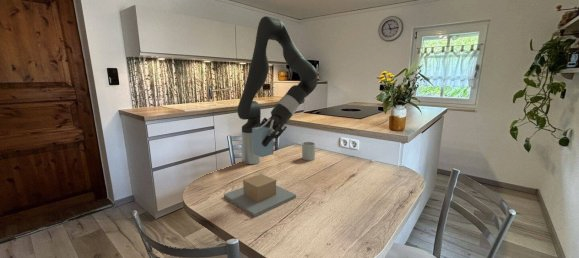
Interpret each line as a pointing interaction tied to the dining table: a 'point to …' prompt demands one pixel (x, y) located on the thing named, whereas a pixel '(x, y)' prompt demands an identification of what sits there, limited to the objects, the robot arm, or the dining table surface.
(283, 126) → the robot arm
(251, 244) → the dining table surface
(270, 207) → the tower base
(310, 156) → the cup
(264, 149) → the tower block
